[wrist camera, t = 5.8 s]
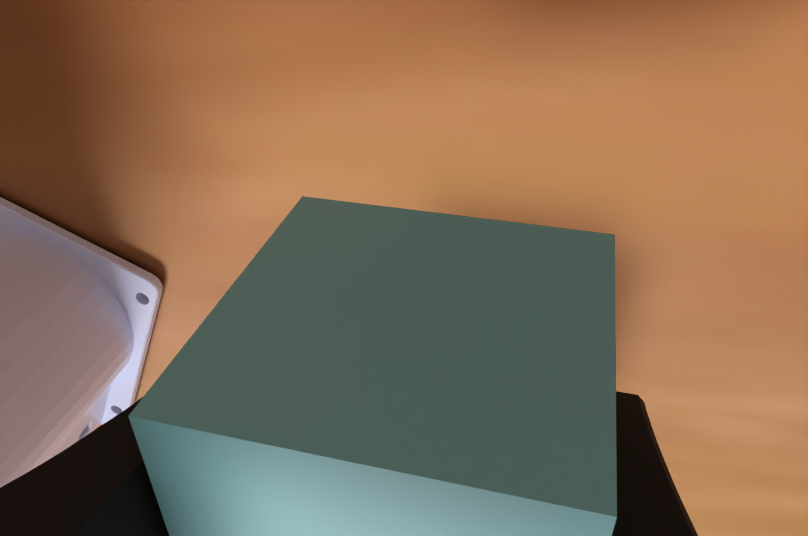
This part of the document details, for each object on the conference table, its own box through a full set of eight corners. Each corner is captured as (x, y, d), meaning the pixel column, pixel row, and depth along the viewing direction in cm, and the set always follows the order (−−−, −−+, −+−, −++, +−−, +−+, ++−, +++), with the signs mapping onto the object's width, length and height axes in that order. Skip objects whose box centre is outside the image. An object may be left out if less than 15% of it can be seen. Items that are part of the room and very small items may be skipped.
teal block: (568, 455, 13) (550, 747, 9) (324, 408, 14) (209, 650, 10) (614, 234, 10) (616, 516, 6) (302, 196, 11) (127, 415, 7)
